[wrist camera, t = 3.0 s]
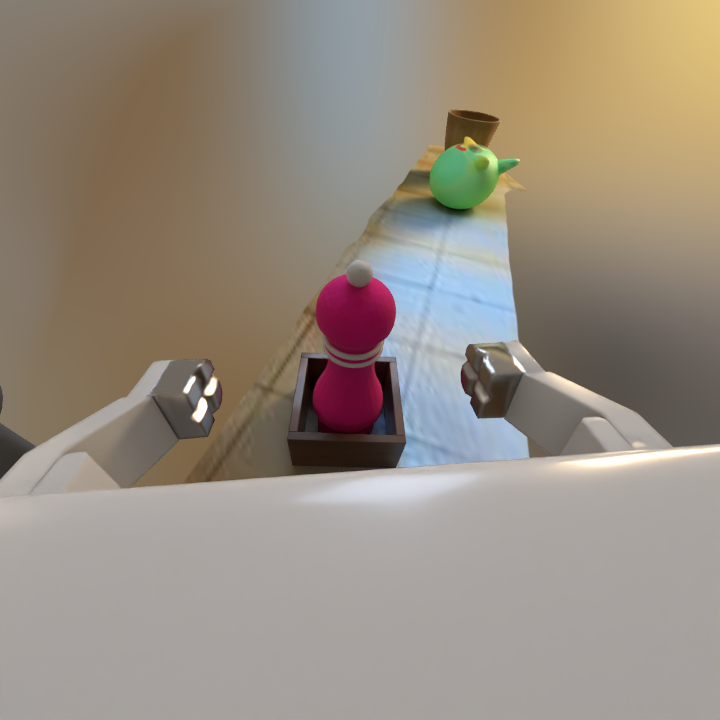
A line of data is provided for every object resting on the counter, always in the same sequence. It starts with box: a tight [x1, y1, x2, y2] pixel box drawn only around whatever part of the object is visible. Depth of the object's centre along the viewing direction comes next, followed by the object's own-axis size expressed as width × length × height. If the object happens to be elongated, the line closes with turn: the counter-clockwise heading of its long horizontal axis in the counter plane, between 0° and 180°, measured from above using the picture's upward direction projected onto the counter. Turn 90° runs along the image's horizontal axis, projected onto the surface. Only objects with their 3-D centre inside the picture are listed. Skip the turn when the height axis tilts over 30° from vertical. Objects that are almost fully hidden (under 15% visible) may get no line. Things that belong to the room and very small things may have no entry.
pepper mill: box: [313, 260, 396, 434], centre depth 27 cm, size 7×7×20 cm
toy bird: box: [430, 137, 520, 209], centre depth 76 cm, size 18×17×15 cm
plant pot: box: [445, 110, 500, 151], centre depth 93 cm, size 15×15×16 cm
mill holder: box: [287, 353, 406, 468], centre depth 33 cm, size 11×11×6 cm
